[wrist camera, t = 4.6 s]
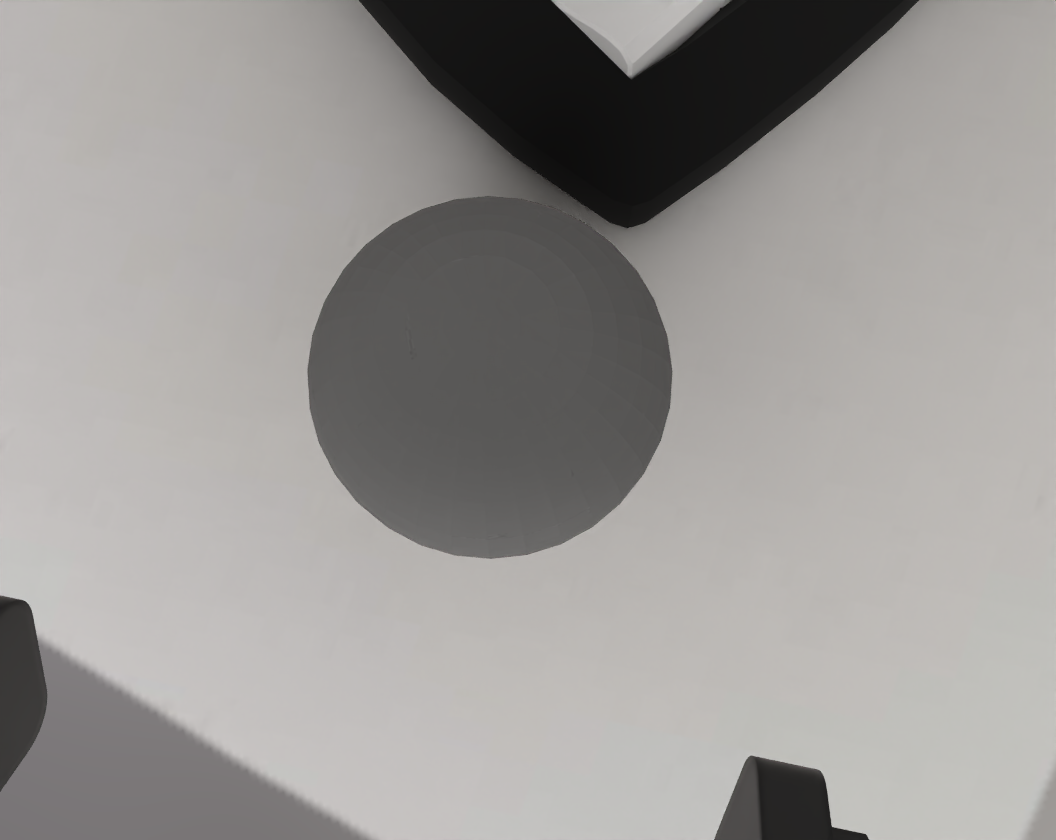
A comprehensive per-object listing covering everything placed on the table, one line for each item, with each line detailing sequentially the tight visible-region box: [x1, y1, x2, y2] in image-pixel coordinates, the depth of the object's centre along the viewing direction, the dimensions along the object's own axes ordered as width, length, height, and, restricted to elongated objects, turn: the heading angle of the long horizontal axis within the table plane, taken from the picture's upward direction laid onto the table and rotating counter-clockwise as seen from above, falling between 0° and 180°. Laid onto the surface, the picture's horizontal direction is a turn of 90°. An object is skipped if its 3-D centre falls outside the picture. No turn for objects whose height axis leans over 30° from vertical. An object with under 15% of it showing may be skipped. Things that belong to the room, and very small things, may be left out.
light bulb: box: [308, 196, 672, 559], centre depth 19 cm, size 6×6×10 cm
